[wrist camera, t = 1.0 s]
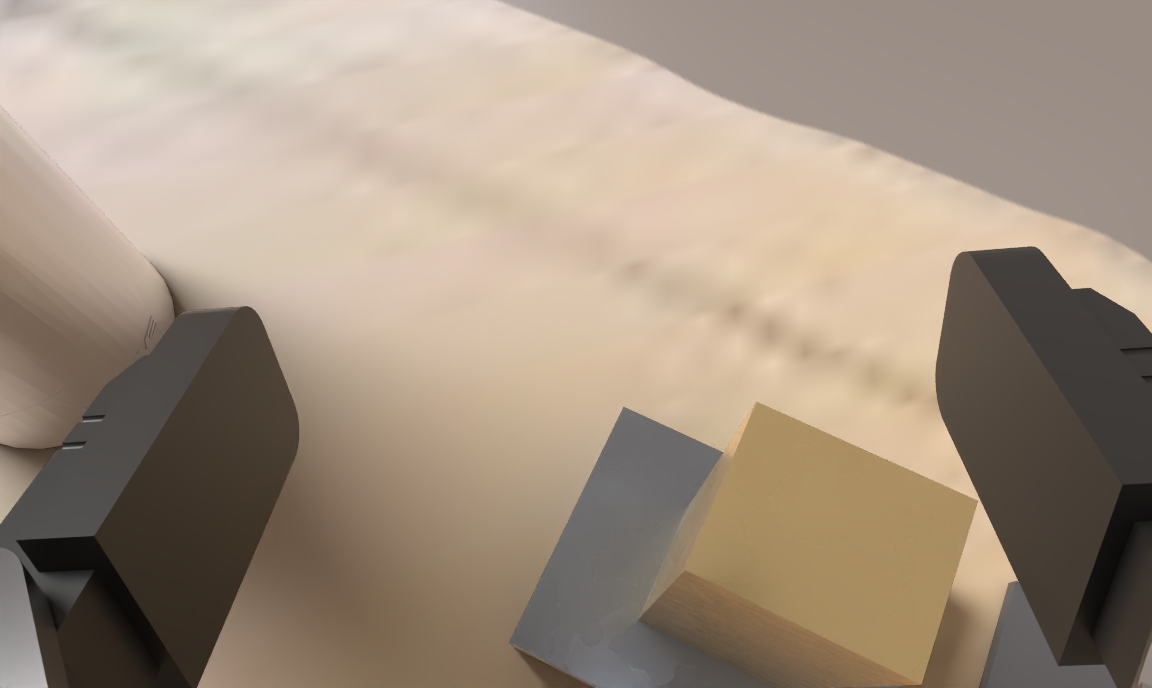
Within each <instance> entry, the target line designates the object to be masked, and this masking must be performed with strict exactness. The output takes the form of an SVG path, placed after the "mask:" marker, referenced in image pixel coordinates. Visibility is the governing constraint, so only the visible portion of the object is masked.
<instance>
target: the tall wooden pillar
mask: <svg viewBox="0 0 1152 688" xmlns="http://www.w3.org/2000/svg"><path fill="white" fill-rule="evenodd" d="M977 503H978V501H977V500H975V499H973V498H971V497H968V496H966V495H964V494H962V493H959V492H957V491H955V490H953V489H950V488H948V487H946V486H944V485H942V484H939V483H937V482H935V481H933V480H930V479H928V478H926V477H924V476H921V475H919V474H917V473H915V472H912V471H910V470H908V469H906V468H904V467H901V466H899V465H897V464H895V463H892V462H890V461H888V460H886V459H883V458H881V457H879V456H877V455H874V454H872V453H870V452H868V451H865V450H863V449H861V448H859V447H857V446H854V445H852V444H850V443H848V442H845V441H843V440H841V439H839V438H836V437H834V436H832V435H830V434H827V433H825V432H823V431H821V430H819V429H816V428H814V427H812V426H810V425H807V424H805V423H803V422H801V421H798V420H796V419H794V418H792V417H789V416H787V415H785V414H783V413H781V412H778V411H776V410H774V409H772V408H769V407H767V406H765V405H763V404H760V403H758V402H756V403H755V405H754V406H753V408H752V409H751V411H750V412H749V414H748V415H747V417H746V418H745V420H744V422H743V423H742V425H741V426H740V428H739V429H738V431H737V432H736V434H735V435H734V437H733V438H732V440H731V442H730V443H729V445H728V446H727V448H726V449H725V451H724V452H723V454H722V455H721V457H720V458H719V460H718V461H717V463H716V465H715V466H714V468H713V469H712V471H711V472H710V474H709V475H708V477H707V478H706V480H705V481H704V483H703V485H702V486H701V488H700V489H699V491H698V492H697V494H696V495H695V497H694V498H693V500H692V501H691V503H690V505H689V506H688V508H687V509H686V511H685V513H684V515H683V518H682V520H681V522H680V524H679V527H678V529H677V531H676V534H675V536H674V538H673V541H672V543H671V545H670V547H669V550H668V552H667V554H666V557H665V559H664V561H663V563H662V566H661V568H660V570H659V573H658V575H657V577H656V580H655V582H654V584H653V586H652V589H651V591H650V593H649V596H648V598H647V600H646V603H645V605H644V607H643V609H642V612H641V614H640V616H639V620H641V621H643V622H645V623H647V624H649V625H651V626H653V627H655V628H657V629H659V630H661V631H663V632H665V633H667V634H669V635H671V636H673V637H675V638H677V639H679V640H681V641H683V642H685V643H687V644H689V645H691V646H693V647H695V648H697V649H699V650H701V651H703V652H705V653H707V654H709V655H711V656H713V657H715V658H717V659H719V660H721V661H723V662H725V663H727V664H729V665H731V666H733V667H735V668H737V669H739V670H741V671H743V672H745V673H747V674H749V675H751V676H753V677H755V678H757V679H759V680H761V681H763V682H765V683H767V684H769V685H771V686H773V687H775V688H847V687H874V686H902V685H922V681H923V678H924V675H925V672H926V668H927V665H928V662H929V659H930V655H931V652H932V649H933V646H934V642H935V639H936V636H937V633H938V629H939V626H940V623H941V620H942V616H943V613H944V610H945V607H946V603H947V600H948V597H949V594H950V590H951V587H952V584H953V581H954V577H955V574H956V571H957V568H958V564H959V561H960V558H961V555H962V551H963V548H964V545H965V542H966V538H967V535H968V532H969V529H970V525H971V522H972V519H973V516H974V512H975V509H976V506H977Z"/></svg>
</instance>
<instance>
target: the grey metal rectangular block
mask: <svg viewBox="0 0 1152 688" xmlns="http://www.w3.org/2000/svg"><path fill="white" fill-rule="evenodd" d="M722 454H723V452H721V451H719V450H717V449H714V448H712V447H710V446H708V445H706V444H704V443H701V442H699V441H697V440H695V439H693V438H691V437H688V436H686V435H684V434H682V433H680V432H677V431H675V430H673V429H671V428H669V427H667V426H664V425H662V424H660V423H658V422H656V421H654V420H651V419H649V418H647V417H645V416H643V415H640V414H638V413H636V412H634V411H632V410H630V409H627V408H625V407H623V409H622V411H621V413H620V415H619V418H618V420H617V422H616V424H615V426H614V428H613V430H612V432H611V434H610V436H609V438H608V440H607V442H606V444H605V446H604V448H603V451H602V453H601V455H600V457H599V459H598V461H597V463H596V465H595V467H594V469H593V471H592V473H591V475H590V477H589V479H588V481H587V484H586V486H585V488H584V490H583V492H582V494H581V496H580V498H579V500H578V502H577V504H576V506H575V508H574V510H573V512H572V514H571V517H570V519H569V521H568V523H567V525H566V527H565V529H564V531H563V533H562V535H561V537H560V539H559V541H558V543H557V545H556V547H555V550H554V552H553V554H552V556H551V558H550V560H549V562H548V564H547V566H546V568H545V570H544V572H543V574H542V576H541V578H540V580H539V583H538V585H537V587H536V589H535V591H534V593H533V595H532V597H531V599H530V601H529V603H528V605H527V607H526V609H525V611H524V613H523V616H522V618H521V620H520V622H519V624H518V626H517V628H516V630H515V632H514V634H513V636H512V638H511V640H510V642H509V643H510V644H511V645H512V646H513V647H514V648H516V649H518V650H520V651H522V652H524V653H526V654H528V655H530V656H532V657H534V658H536V659H538V660H540V661H542V662H543V663H545V664H547V665H549V666H551V667H553V668H555V669H557V670H559V671H561V672H563V673H565V674H567V675H569V676H571V677H572V678H574V679H576V680H578V681H580V682H582V683H584V684H586V685H588V686H590V687H592V688H775V687H773V686H771V685H769V684H767V683H765V682H763V681H761V680H759V679H757V678H755V677H753V676H751V675H749V674H747V673H745V672H743V671H741V670H739V669H737V668H735V667H733V666H731V665H729V664H727V663H725V662H723V661H721V660H719V659H717V658H715V657H713V656H711V655H709V654H707V653H705V652H703V651H701V650H699V649H697V648H695V647H693V646H691V645H689V644H687V643H685V642H683V641H681V640H679V639H677V638H675V637H673V636H671V635H669V634H667V633H665V632H663V631H661V630H659V629H657V628H655V627H653V626H651V625H649V624H647V623H645V622H643V621H641V620H639V616H640V614H641V612H642V609H643V607H644V605H645V603H646V600H647V598H648V596H649V593H650V591H651V589H652V586H653V584H654V582H655V580H656V577H657V575H658V573H659V570H660V568H661V566H662V563H663V561H664V559H665V557H666V554H667V552H668V550H669V547H670V545H671V543H672V541H673V538H674V536H675V534H676V531H677V529H678V527H679V524H680V522H681V520H682V518H683V515H684V513H685V511H686V509H687V508H688V506H689V505H690V503H691V501H692V500H693V498H694V497H695V495H696V494H697V492H698V491H699V489H700V488H701V486H702V485H703V483H704V481H705V480H706V478H707V477H708V475H709V474H710V472H711V471H712V469H713V468H714V466H715V465H716V463H717V461H718V460H719V458H720V457H721V455H722ZM900 687H901V686H874V687H847V688H900Z"/></svg>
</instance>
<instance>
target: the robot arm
mask: <svg viewBox="0 0 1152 688" xmlns="http://www.w3.org/2000/svg"><path fill="white" fill-rule="evenodd" d="M936 393H937V400H938V405H939V409H940V412H941V416H942V418H943V421H944V423H945V425H946V427H947V429H948V432H949V434H950V436H951V438H952V440H953V442H954V444H955V447H956V449H957V451H958V453H959V455H960V457H961V459H962V461H963V464H964V466H965V468H966V470H967V472H968V474H969V476H970V479H971V481H972V483H973V485H974V487H975V489H976V491H977V494H978V496H979V498H980V500H981V502H982V504H983V506H984V509H985V511H986V513H987V515H988V517H989V519H990V521H991V523H992V526H993V528H994V530H995V532H996V534H997V536H998V538H999V541H1000V543H1001V545H1002V547H1003V549H1004V551H1005V553H1006V556H1007V558H1008V560H1009V562H1010V564H1011V566H1012V568H1013V570H1014V573H1015V575H1016V577H1017V579H1018V581H1019V583H1020V585H1021V588H1022V590H1023V592H1024V594H1025V596H1026V598H1027V600H1028V603H1029V605H1030V607H1031V609H1032V611H1033V613H1034V615H1035V618H1036V620H1037V622H1038V624H1039V626H1040V628H1041V630H1042V632H1043V635H1044V637H1045V639H1046V641H1047V643H1048V645H1049V647H1050V650H1051V652H1052V654H1053V656H1054V658H1055V660H1056V662H1057V665H1058V666H1078V665H1106V667H1107V669H1108V671H1109V673H1110V675H1111V677H1112V679H1113V681H1114V683H1115V685H1116V687H1117V688H1152V333H1151V332H1150V331H1149V330H1148V329H1147V328H1146V326H1145V325H1144V324H1143V323H1142V322H1141V321H1140V320H1139V318H1138V317H1137V316H1136V315H1135V314H1134V313H1132V312H1130V311H1129V310H1127V309H1125V308H1124V307H1122V306H1120V305H1118V304H1117V303H1115V302H1113V301H1112V300H1110V299H1108V298H1106V297H1105V296H1103V295H1101V294H1100V293H1098V292H1096V291H1094V290H1093V289H1091V288H1083V289H1071V288H1070V286H1069V285H1068V284H1067V283H1066V281H1065V280H1064V279H1063V278H1062V276H1061V275H1060V274H1059V273H1058V271H1057V270H1056V269H1055V268H1054V266H1053V265H1052V264H1051V263H1050V261H1049V260H1048V259H1047V258H1046V256H1045V255H1044V254H1043V253H1042V252H1041V251H1040V250H1039V249H1038V248H1036V247H1032V246H1031V247H1018V248H1006V249H993V250H980V251H967V252H961V253H960V254H958V256H957V257H956V259H955V261H954V263H953V267H952V271H951V276H950V282H949V288H948V294H947V300H946V307H945V313H944V319H943V325H942V331H941V338H940V344H939V350H938V356H937V363H936ZM298 442H299V423H298V416H297V411H296V407H295V404H294V402H293V399H292V396H291V394H290V391H289V389H288V386H287V384H286V381H285V379H284V376H283V373H282V371H281V368H280V366H279V363H278V361H277V358H276V356H275V353H274V350H273V348H272V345H271V343H270V340H269V338H268V335H267V333H266V330H265V327H264V325H263V323H262V320H261V319H260V317H259V315H258V314H257V313H256V312H255V310H253V309H252V308H250V307H248V306H242V307H229V308H216V309H203V310H191V311H185V312H182V313H181V314H179V315H178V316H177V317H176V319H175V314H174V306H173V300H172V297H171V295H170V292H169V290H168V288H167V285H166V283H165V281H164V279H163V278H162V277H161V275H160V274H159V273H158V272H157V270H156V269H155V268H154V266H153V265H152V264H151V263H150V262H149V261H148V260H147V259H146V258H145V257H144V256H143V255H142V254H141V252H140V251H139V250H138V249H137V248H136V247H135V246H134V245H133V244H132V243H131V242H130V241H129V240H128V239H127V238H126V237H125V236H124V235H123V234H122V232H121V231H120V230H119V229H118V228H117V227H116V226H115V225H114V224H113V223H112V222H111V220H110V219H109V218H108V217H107V216H106V215H105V214H104V213H103V212H102V211H101V210H100V209H99V208H98V207H97V206H96V205H95V203H94V202H93V201H92V200H91V199H90V198H89V197H88V196H87V195H86V194H85V193H84V192H83V191H82V190H81V189H80V188H79V187H78V186H77V185H76V184H75V183H74V182H73V180H72V179H71V178H70V177H69V176H68V175H67V174H66V173H65V172H64V171H63V170H62V169H61V168H60V167H59V166H58V165H57V164H56V163H55V162H54V161H53V160H52V159H51V157H50V156H49V155H48V154H47V153H46V152H45V151H44V150H43V149H42V148H41V147H40V146H39V145H38V144H37V143H36V142H35V141H34V140H33V139H32V138H31V137H30V136H29V134H28V133H27V132H26V131H25V130H24V129H23V128H22V127H21V126H20V125H19V124H18V123H17V122H16V121H15V120H14V119H13V118H12V117H11V116H10V115H9V114H8V112H7V111H6V110H5V109H4V108H3V107H2V106H1V105H0V444H4V445H7V446H11V447H15V448H33V449H43V448H50V447H56V446H62V445H63V448H62V449H61V450H56V451H55V453H54V454H53V455H52V457H51V458H50V459H49V461H48V462H47V463H46V465H45V466H44V467H43V469H42V470H41V471H40V473H39V474H38V475H37V477H36V478H35V479H34V480H33V482H32V483H31V484H30V486H29V487H28V488H27V490H26V491H25V492H24V494H23V495H22V496H21V498H20V499H19V500H18V502H17V503H16V504H15V506H14V507H13V508H12V510H11V511H10V512H9V514H8V515H7V516H6V518H5V519H4V520H3V522H2V523H1V524H0V688H197V686H198V684H199V681H200V679H201V677H202V674H203V672H204V670H205V667H206V665H207V663H208V660H209V658H210V656H211V653H212V651H213V648H214V646H215V644H216V641H217V639H218V637H219V634H220V632H221V630H222V627H223V625H224V623H225V620H226V618H227V616H228V613H229V611H230V609H231V606H232V604H233V602H234V599H235V597H236V595H237V592H238V590H239V588H240V585H241V583H242V581H243V578H244V576H245V574H246V571H247V569H248V567H249V564H250V562H251V559H252V557H253V555H254V552H255V550H256V548H257V545H258V543H259V541H260V538H261V536H262V534H263V531H264V529H265V527H266V524H267V522H268V520H269V517H270V515H271V513H272V510H273V508H274V506H275V503H276V501H277V499H278V496H279V494H280V492H281V489H282V487H283V485H284V482H285V480H286V478H287V475H288V473H289V470H290V468H291V466H292V463H293V461H294V459H295V456H296V452H297V448H298Z"/></svg>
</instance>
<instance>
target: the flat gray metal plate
mask: <svg viewBox="0 0 1152 688" xmlns="http://www.w3.org/2000/svg"><path fill="white" fill-rule="evenodd" d="M979 688H1117V687H1116V685H1115V683H1114V681H1113V679H1112V677H1111V675H1110V673H1109V671H1108V669H1107V667H1106V665H1078V666H1058V665H1057V662H1056V660H1055V658H1054V656H1053V654H1052V652H1051V650H1050V647H1049V645H1048V643H1047V641H1046V639H1045V637H1044V635H1043V632H1042V630H1041V628H1040V626H1039V624H1038V622H1037V620H1036V618H1035V615H1034V613H1033V611H1032V609H1031V607H1030V605H1029V603H1028V600H1027V598H1026V596H1025V594H1024V592H1023V590H1022V588H1021V585H1020V583H1019V582H1018V581H1015V582H1011V583H1009V585H1008V588H1007V592H1006V595H1005V599H1004V602H1003V606H1002V609H1001V613H1000V616H999V620H998V623H997V627H996V630H995V634H994V637H993V641H992V644H991V648H990V651H989V655H988V659H987V662H986V666H985V669H984V673H983V676H982V680H981V683H980V687H979Z"/></svg>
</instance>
